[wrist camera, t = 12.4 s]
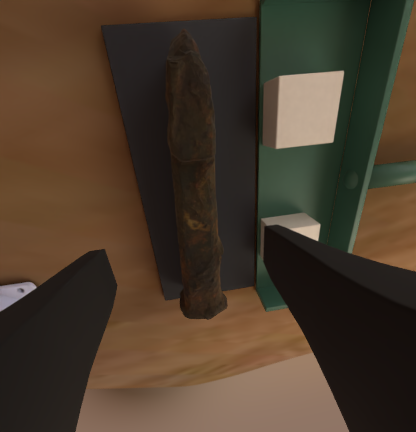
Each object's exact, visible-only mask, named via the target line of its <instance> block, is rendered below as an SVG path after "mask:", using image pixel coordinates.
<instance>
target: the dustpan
mask: <svg viewBox="0 0 416 432" xmlns="http://www.w3.org/2000/svg"><path fill="white" fill-rule="evenodd" d="M370 2H371V7H370ZM413 3H414V0H372V1H371V0H260V23H259V96H258V169H257V242H256V292H257V294H258V296H259V298H260V300H261V302H262V305H263V307H264V309H265V311H266V312H268V311H274V310H279V309H285V308H288V307H287V305H286V304H285V302H284V300H283V299H282V297H281V295H280V294H279V292H278V291H277V289H276V287H275V286H274V284H273V282H272V281H271V279H270V276H269V274H268V272H267V270H266V268H265V265H264V263H263V260H262V258H261V256H260V245H261V219H262V218H269V217H276V216H283V215H290V214H297V213H306V214H307V215H308V216H310V217H311V218H313V219H314V220H315V221H317V222H318V223H320V232H319V238H318V241H319V242H321V243H324V244H326V245H329V246H331V247H334V248H337V249H339V250H342V251H345V252H347V253H350V254H352V251H353V247H354V242H355V238H356V234H357V230H358V226H359V222H360V218H361V214H362V210H363V206H364V202H365V198H366V194H367V190H368V189H372V188H379V187H387V186H394V185H402V184H410V183H416V160H412V161H404V162H396V163H387V164H379V165H374V161H375V157H376V153H377V149H378V145H379V141H380V137H381V133H382V129H383V125H384V121H385V117H386V113H387V108H388V104H389V100H390V96H391V92H392V88H393V84H394V80H395V76H396V72H397V68H398V64H399V60H400V56H401V52H402V48H403V44H404V39H405V35H406V31H407V27H408V23H409V19H410V15H411V11H412V7H413ZM369 8H370V12H369ZM368 13H369V18H368ZM367 19H368V23H367ZM366 24H367V29H366ZM365 30H366V34H365ZM364 36H365V40H364ZM363 41H364V45H363ZM362 47H363V51H362ZM361 52H362V56H361ZM360 58H361V62H360ZM359 63H360V67H359ZM358 69H359V73H358ZM332 71H344V76H343V83H342V89H341V96H340V102H339V108H338V115H337V121H336V128H335V134H334V140H333V142H332V143H325V144H316V145H307V146H298V147H289V148H280V149H275V148H271V147H267V146H264V145H263V96H264V83H265V82H267V81H270V80H272V79H274V78H276V77H278V76H284V75H296V74H308V73H320V72H332ZM357 74H358V78H357ZM356 80H357V83H356ZM355 85H356V89H355ZM354 91H355V94H354ZM353 96H354V100H353ZM352 102H353V105H352ZM351 107H352V111H351ZM350 113H351V116H350ZM349 118H350V122H349ZM348 124H349V127H348ZM347 129H348V133H347ZM346 135H347V138H346ZM345 140H346V144H345ZM344 146H345V149H344ZM343 151H344V155H343ZM342 157H343V160H342ZM341 163H342V166H341ZM340 168H341V171H340ZM339 174H340V177H339ZM338 179H339V182H338ZM337 185H338V188H337ZM336 190H337V193H336ZM335 196H336V199H335ZM334 201H335V204H334ZM333 207H334V210H333ZM332 212H333V215H332ZM331 218H332V221H331ZM330 223H331V226H330ZM329 229H330V232H329ZM328 234H329V237H328ZM327 240H328V243H327Z"/></svg>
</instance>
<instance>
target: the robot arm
mask: <svg viewBox="0 0 416 432" xmlns="http://www.w3.org/2000/svg"><path fill="white" fill-rule="evenodd" d="M263 263H264V265H265V268H266V270H267V272H268V274H269V276H270V279H271V281H272V282H273V284H274V286H275V287H276V289H277V291H278V292H279V294H280V295H281V297H282V299H283V300H284V302H285V304H286V305H287V307H288V308H289V310H290V312H291V313H292V315H293V316H294V318H295V320H296V321H297V323H298V324H299V326H300V328H301V330H302V331H303V333H304V335H305V337H306V339H307V341H308V343H309V345H310V347H311V349H312V351H313V353H314V355H315V357H316V359H317V361H318V363H319V365H320V368H321V370H322V372H323V374H324V376H325V378H326V380H327V382H328V385H329V387H330V389H331V391H332V393H333V395H334V398H335V400H336V402H337V405H338V407H339V409H340V411H341V413H342V416H343V418H344V420H345V422H346V425H347V427H348V429H349V432H416V272H415V271H411V270H407V269H402V268H398V267H394V266H390V265H387V264H383V263H379V262H376V261H373V260H369V259H366V258H363V257H360V256H356V255H353V254H350V253H347V252H345V251H342V250H339V249H337V248H334V247H331V246H329V245H326V244H324V243H321V242H319V241H316V240H314V239H312V238H309V237H307V236H305V235H302V234H300V233H298V232H295V231H293V230H291V229H288V228H286V227H283V226H281V225H277V224H276V225H269V226H264V252H263ZM21 288H22V289H21ZM116 290H117V283H116V280H115V277H114V274H113V272H112V269H111V266H110V263H109V260H108V257H107V254H106V252H105V249H101V250H94V251H89V252H88V253H86V254H84V255H83V256H81V257H80V258H78V259H77V260H75V261H74V262H73V263H71V264H70V265H68V266H67V267H65V268H64V269H63V270H61V271H60V272H58V273H57V274H56V275H54V276H53V277H51V278H50V279H49V280H47V281H46V282H44V283H43V284H41V285H40V286H39V287H36V285H35V284H33V283H31V282H25V283H18V284H11V285H5V286H0V432H75V431H76V426H77V422H78V418H79V413H80V409H81V405H82V401H83V397H84V393H85V390H86V386H87V382H88V378H89V374H90V371H91V368H92V365H93V362H94V359H95V356H96V353H97V350H98V348H99V345H100V342H101V339H102V337H103V334H104V331H105V328H106V325H107V323H108V320H109V317H110V314H111V311H112V308H113V304H114V300H115V295H116Z"/></svg>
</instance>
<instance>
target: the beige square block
mask: <svg viewBox="0 0 416 432" xmlns="http://www.w3.org/2000/svg"><path fill="white" fill-rule="evenodd" d="M276 224H277V225H281V226H283V227H286V228H288V229H291V230H293V231H295V232H298V233H300V234H302V235H305V236H307V237H309V238H312V239H314V240H316V241H318V238H319V232H320V223H318V222H317V221H315V220H314V219H313V218H311V217H310V216H308V215H307V214H306V213H297V214H290V215H283V216H276V217H269V218H262V219H261V245H260V256H261V258H262V260H263V252H264V226H269V225H276Z"/></svg>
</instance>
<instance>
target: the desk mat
mask: <svg viewBox="0 0 416 432" xmlns="http://www.w3.org/2000/svg"><path fill="white" fill-rule="evenodd" d="M256 21H257V18H256V17H245V18H227V19H210V20H192V21H174V22H156V23H138V24H120V25H103V26H101V28H102V33H103V37H104V41H105V45H106V50H107V54H108V58H109V62H110V67H111V71H112V75H113V80H114V84H115V88H116V92H117V97H118V101H119V105H120V109H121V114H122V118H123V122H124V126H125V131H126V135H127V139H128V143H129V148H130V152H131V156H132V160H133V165H134V169H135V173H136V177H137V182H138V186H139V190H140V195H141V199H142V203H143V207H144V212H145V216H146V220H147V224H148V229H149V233H150V237H151V241H152V246H153V250H154V254H155V258H156V263H157V267H158V271H159V275H160V280H161V284H162V288H163V292H164V297H165V300H172V299H178V298H180V292H181V291H182V290H183V288H184V287H183V284H182V271H181V264H180V251H179V243H178V232H177V224H176V211H175V194H174V187H173V176H172V167H171V153H170V148H169V145H168V140H167V128H168V120H169V110H168V106H167V102H166V99H165V91H166V60H167V56H168V53H169V48H170V43H171V40H172V39H173V38H174V37H176V36H177V35H178V34H179V33H180V32H181V31H182V29H186V30H187V31H188V32H189V33H190V35H191V36H192V38H193V39H194V41H195V43H196V44H197V46H198V48H199V53H200V56H201V59H202V61H203V63H204V65H205V67H206V68H207V71H208V74H209V79H210V86H211V93H212V101H213V106H214V111H215V130H216V138H215V141H216V153H215V155H214V156H215V189H216V202H217V214H218V236H219V238H220V240H221V242H222V245H223V249H224V253H223V255H222V256H221V257H222V259H221V264H220V283H221V284H220V287H221V290H222V291H227V290H233V289H239V288H245V287H251V286H254V243H255V132H256Z"/></svg>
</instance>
